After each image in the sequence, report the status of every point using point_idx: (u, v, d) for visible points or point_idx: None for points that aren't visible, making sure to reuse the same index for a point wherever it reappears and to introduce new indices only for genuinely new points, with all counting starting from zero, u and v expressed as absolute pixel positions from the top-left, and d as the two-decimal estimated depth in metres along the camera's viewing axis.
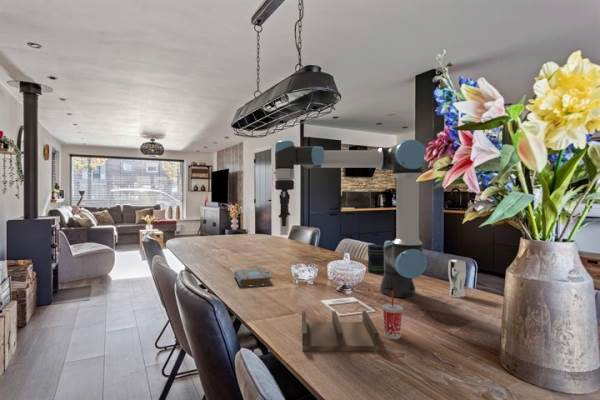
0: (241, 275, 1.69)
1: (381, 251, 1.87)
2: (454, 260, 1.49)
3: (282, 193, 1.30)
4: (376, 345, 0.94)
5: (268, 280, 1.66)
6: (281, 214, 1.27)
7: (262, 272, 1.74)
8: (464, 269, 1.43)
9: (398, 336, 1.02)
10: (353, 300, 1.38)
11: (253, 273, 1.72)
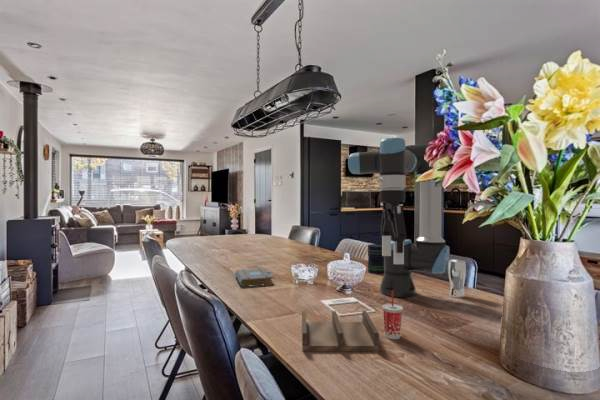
0: (242, 275, 1.69)
1: (381, 251, 1.87)
2: (454, 260, 1.49)
3: (396, 208, 0.97)
4: (376, 345, 0.94)
5: (269, 280, 1.66)
6: (399, 237, 0.94)
7: (263, 272, 1.74)
8: (464, 269, 1.43)
9: (398, 336, 1.02)
10: (353, 300, 1.38)
11: (254, 273, 1.72)
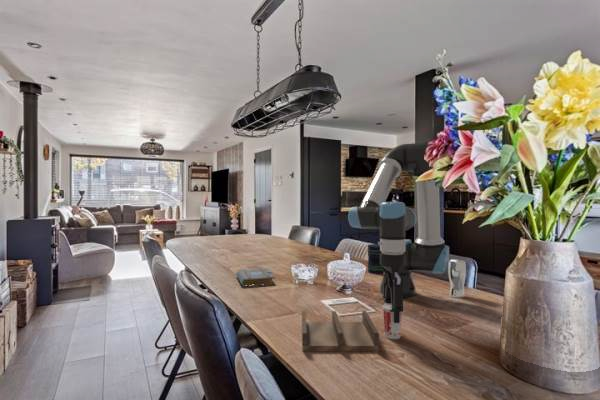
0: (243, 275, 1.69)
1: None
2: (454, 260, 1.49)
3: (396, 280, 0.97)
4: (376, 345, 0.94)
5: (270, 280, 1.67)
6: (396, 309, 0.97)
7: (264, 272, 1.74)
8: (464, 269, 1.43)
9: (398, 336, 1.02)
10: (353, 300, 1.38)
11: (255, 273, 1.72)
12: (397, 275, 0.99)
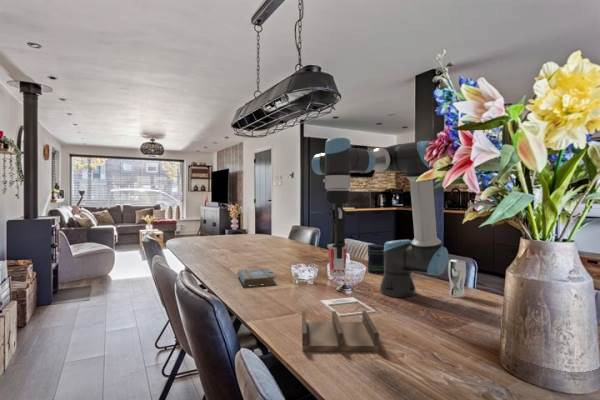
0: (245, 275, 1.69)
1: (381, 251, 1.87)
2: (454, 260, 1.49)
3: (338, 214, 0.96)
4: (376, 345, 0.94)
5: (272, 280, 1.67)
6: (337, 243, 0.96)
7: (265, 272, 1.75)
8: (464, 269, 1.43)
9: (342, 274, 1.01)
10: (353, 300, 1.38)
11: (256, 273, 1.72)
12: (340, 210, 0.98)
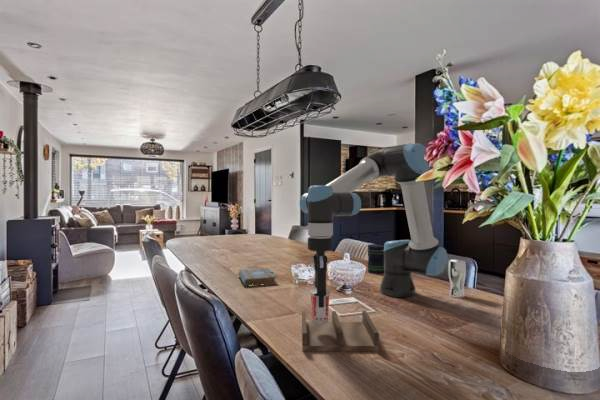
0: (246, 275, 1.69)
1: (381, 251, 1.87)
2: (454, 260, 1.49)
3: (319, 264, 0.96)
4: (376, 345, 0.94)
5: (273, 280, 1.67)
6: (318, 293, 0.96)
7: (266, 272, 1.75)
8: (464, 269, 1.43)
9: (324, 321, 1.01)
10: (353, 300, 1.38)
11: (257, 273, 1.72)
12: (321, 259, 0.98)
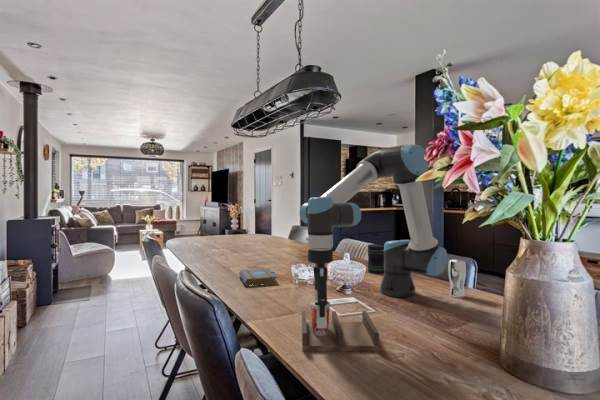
0: (246, 275, 1.70)
1: (381, 251, 1.87)
2: (454, 260, 1.49)
3: (319, 271, 0.96)
4: (376, 345, 0.94)
5: (273, 280, 1.67)
6: (319, 303, 0.93)
7: (267, 272, 1.75)
8: (464, 269, 1.43)
9: (325, 332, 1.01)
10: (353, 300, 1.38)
11: (258, 273, 1.72)
12: (321, 268, 0.98)
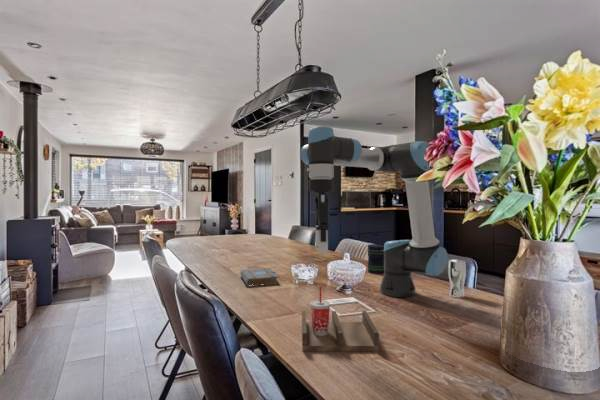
0: (248, 275, 1.70)
1: (381, 251, 1.87)
2: (454, 260, 1.49)
3: (320, 197, 0.96)
4: (376, 345, 0.94)
5: (275, 279, 1.67)
6: (320, 226, 0.93)
7: (268, 272, 1.75)
8: (464, 269, 1.43)
9: (325, 332, 1.01)
10: (353, 300, 1.38)
11: (259, 273, 1.73)
12: None
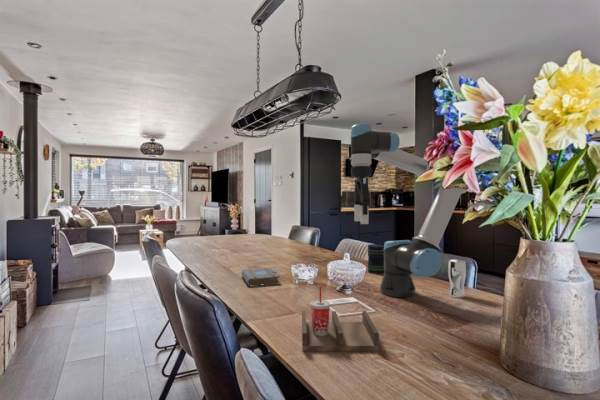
0: (249, 274, 1.70)
1: (381, 251, 1.87)
2: (454, 260, 1.49)
3: (363, 179, 1.22)
4: (376, 345, 0.94)
5: (276, 279, 1.68)
6: (364, 201, 1.19)
7: (269, 271, 1.75)
8: (464, 269, 1.43)
9: (325, 332, 1.01)
10: (353, 300, 1.38)
11: (260, 272, 1.73)
12: None
